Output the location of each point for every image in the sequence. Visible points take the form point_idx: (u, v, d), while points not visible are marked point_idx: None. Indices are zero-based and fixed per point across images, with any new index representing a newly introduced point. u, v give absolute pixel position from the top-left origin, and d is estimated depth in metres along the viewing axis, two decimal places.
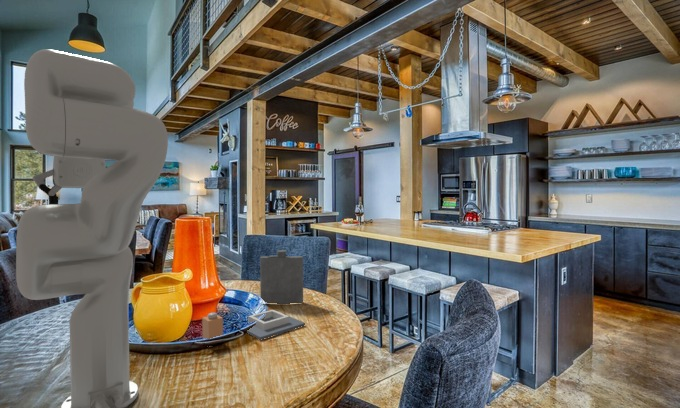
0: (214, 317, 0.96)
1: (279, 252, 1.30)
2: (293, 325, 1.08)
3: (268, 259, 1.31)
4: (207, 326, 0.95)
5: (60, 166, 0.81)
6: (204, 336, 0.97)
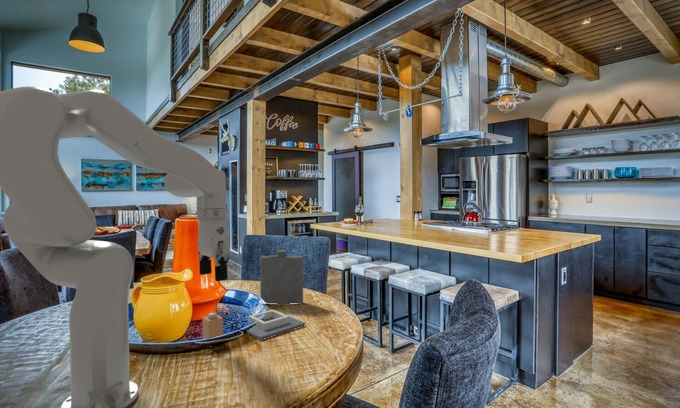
0: (214, 317, 0.97)
1: (279, 252, 1.30)
2: (293, 325, 1.08)
3: (268, 259, 1.31)
4: (207, 326, 0.95)
5: None
6: (204, 336, 0.97)
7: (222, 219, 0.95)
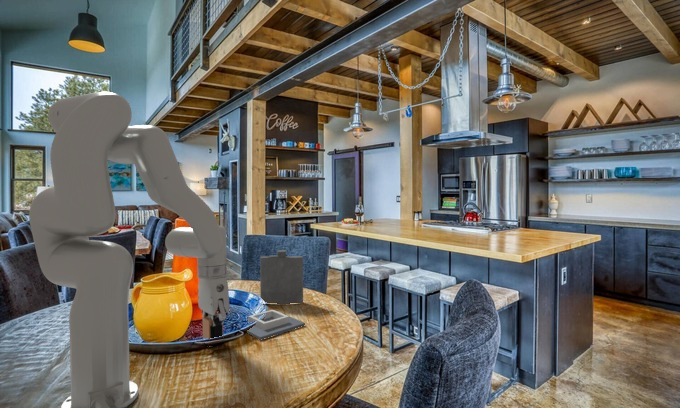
0: None
1: (279, 252, 1.30)
2: (293, 325, 1.08)
3: (268, 259, 1.31)
4: (207, 326, 0.95)
5: None
6: (204, 336, 0.97)
7: (222, 276, 0.95)
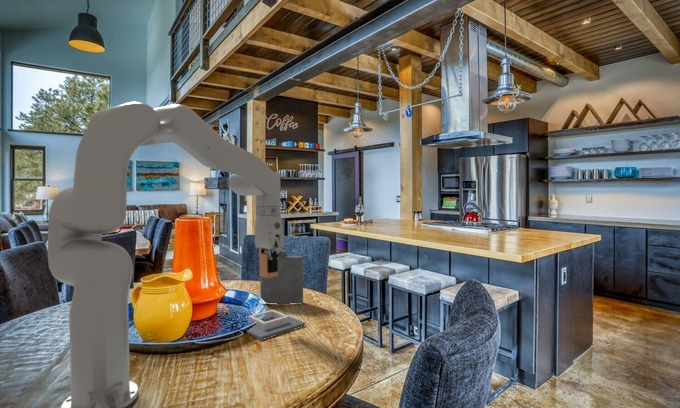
0: None
1: None
2: (293, 325, 1.08)
3: None
4: (265, 260, 1.07)
5: None
6: (261, 269, 1.09)
7: (278, 215, 1.08)
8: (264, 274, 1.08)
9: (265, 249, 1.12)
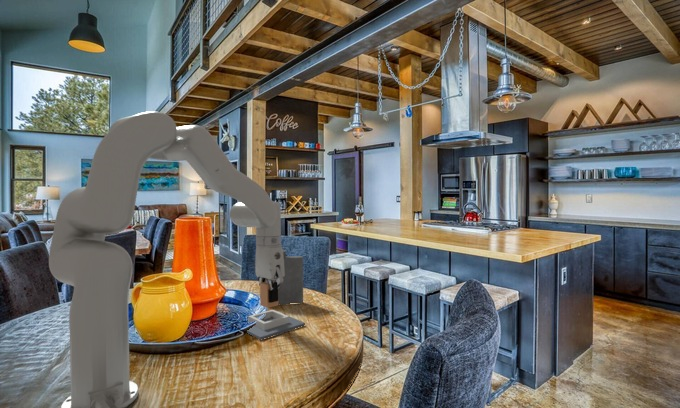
0: None
1: None
2: (293, 325, 1.08)
3: None
4: (265, 289, 1.08)
5: None
6: (262, 299, 1.09)
7: (278, 245, 1.08)
8: (265, 304, 1.08)
9: None
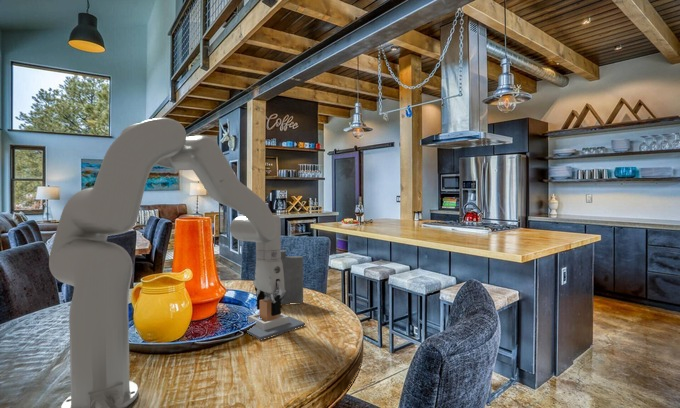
0: (270, 299, 1.09)
1: None
2: (293, 325, 1.08)
3: None
4: (265, 307, 1.08)
5: None
6: (261, 316, 1.09)
7: (278, 259, 1.08)
8: None
9: None
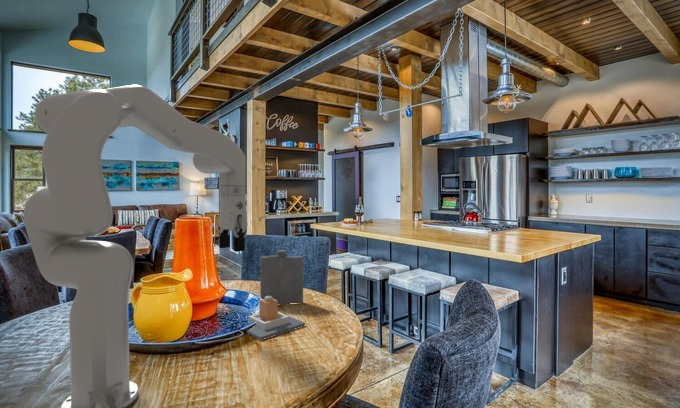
0: (270, 299, 1.09)
1: (279, 252, 1.30)
2: (293, 325, 1.08)
3: (268, 259, 1.31)
4: (265, 307, 1.08)
5: None
6: (261, 316, 1.09)
7: (241, 196, 1.05)
8: None
9: None
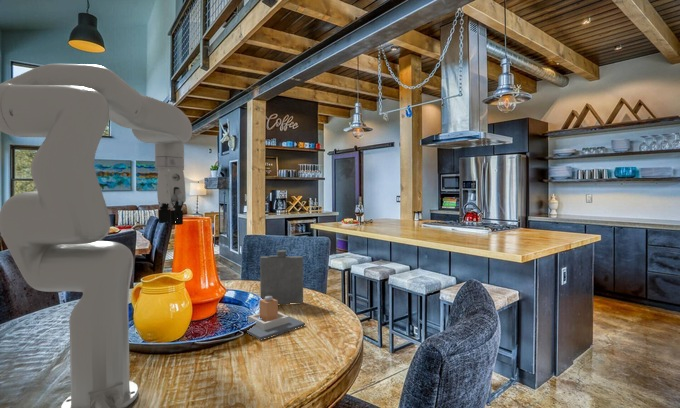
0: (270, 299, 1.09)
1: (279, 252, 1.30)
2: (293, 325, 1.08)
3: (268, 259, 1.31)
4: (265, 307, 1.08)
5: (184, 186, 1.01)
6: (261, 316, 1.09)
7: (179, 168, 1.01)
8: None
9: None
